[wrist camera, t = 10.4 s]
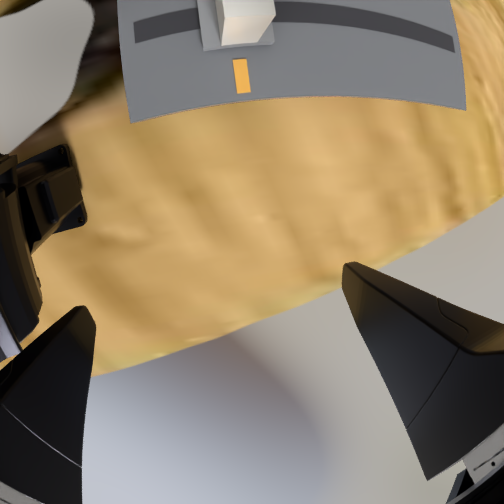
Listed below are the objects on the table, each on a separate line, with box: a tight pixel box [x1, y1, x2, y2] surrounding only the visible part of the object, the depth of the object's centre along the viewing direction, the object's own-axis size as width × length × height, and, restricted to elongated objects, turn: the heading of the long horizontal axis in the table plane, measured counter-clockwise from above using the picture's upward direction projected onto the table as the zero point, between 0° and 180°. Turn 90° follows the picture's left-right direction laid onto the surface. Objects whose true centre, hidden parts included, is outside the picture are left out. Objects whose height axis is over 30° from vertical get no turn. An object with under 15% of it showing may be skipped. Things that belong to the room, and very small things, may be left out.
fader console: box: [117, 0, 466, 123], centre depth 13 cm, size 26×12×2 cm, turn 97°
